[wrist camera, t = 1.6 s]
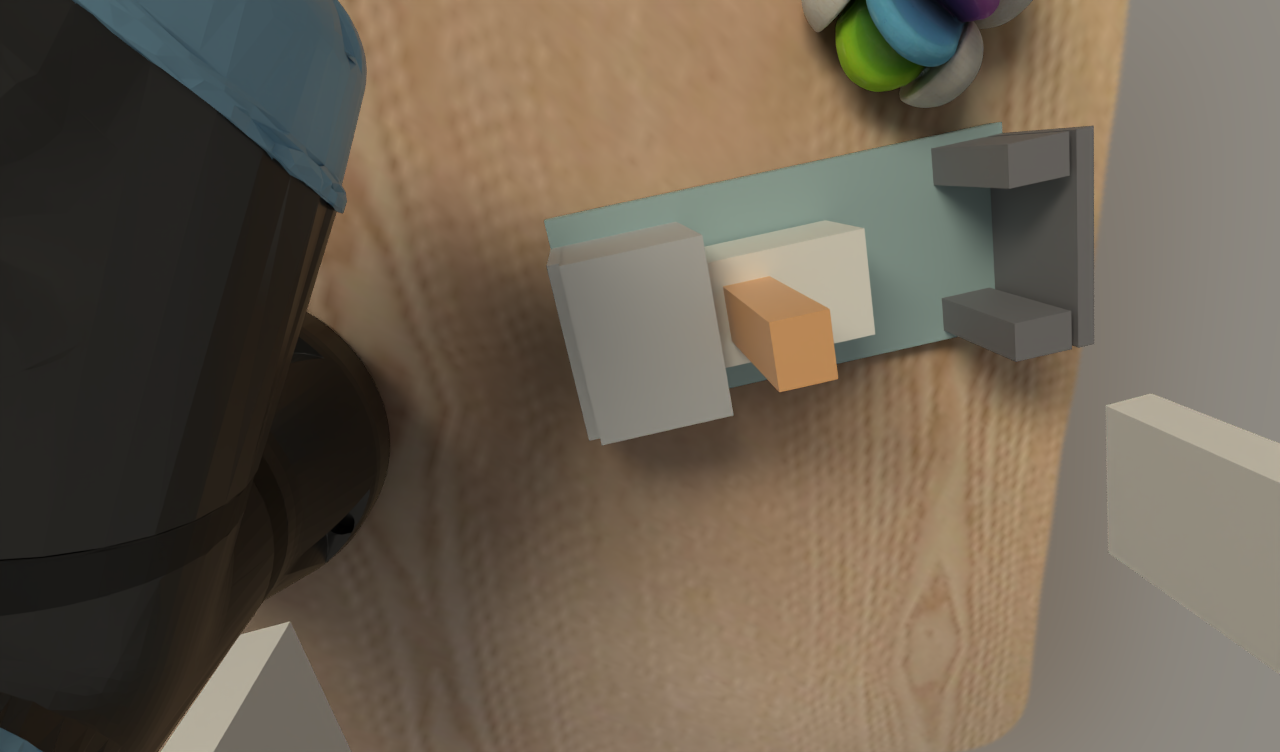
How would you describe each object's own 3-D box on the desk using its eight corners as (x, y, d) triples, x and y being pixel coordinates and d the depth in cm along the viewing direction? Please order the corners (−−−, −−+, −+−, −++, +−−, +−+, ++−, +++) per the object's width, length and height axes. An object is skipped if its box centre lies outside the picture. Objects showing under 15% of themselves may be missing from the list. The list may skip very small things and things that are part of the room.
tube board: (591, 412, 36) (596, 476, 28) (544, 219, 33) (537, 234, 25) (998, 320, 37) (1107, 359, 29) (989, 123, 34) (1108, 110, 26)
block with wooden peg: (599, 365, 34) (613, 461, 23) (578, 274, 33) (582, 329, 21) (836, 312, 34) (962, 381, 23) (825, 220, 33) (954, 246, 22)
